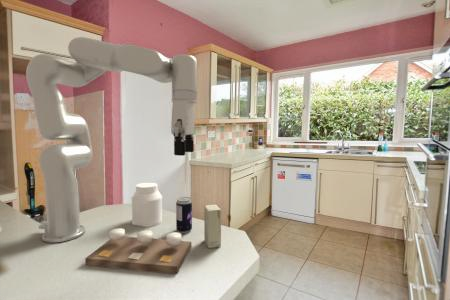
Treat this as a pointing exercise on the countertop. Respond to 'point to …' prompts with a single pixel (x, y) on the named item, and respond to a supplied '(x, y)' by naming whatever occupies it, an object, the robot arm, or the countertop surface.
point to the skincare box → (212, 226)
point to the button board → (140, 255)
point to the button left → (117, 234)
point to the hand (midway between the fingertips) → (184, 153)
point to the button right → (173, 238)
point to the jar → (146, 205)
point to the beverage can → (184, 214)
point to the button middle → (145, 236)
